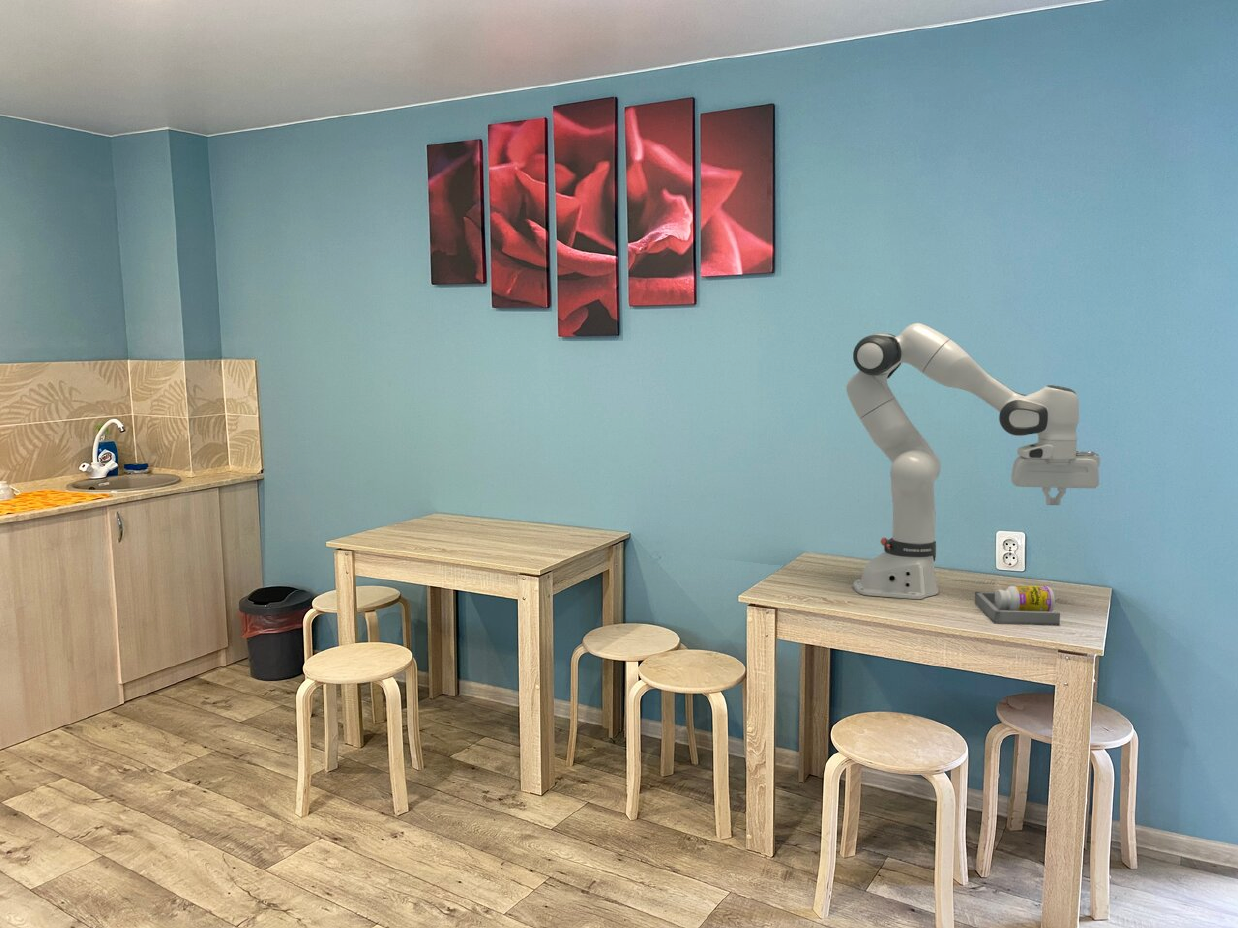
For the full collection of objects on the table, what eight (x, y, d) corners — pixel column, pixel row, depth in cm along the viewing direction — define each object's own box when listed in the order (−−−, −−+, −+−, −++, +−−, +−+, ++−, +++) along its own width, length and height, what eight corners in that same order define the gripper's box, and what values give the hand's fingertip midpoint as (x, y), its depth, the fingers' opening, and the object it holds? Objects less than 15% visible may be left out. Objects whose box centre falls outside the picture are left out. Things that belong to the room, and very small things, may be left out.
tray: (994, 623, 225) (995, 611, 225) (974, 602, 243) (975, 591, 242) (1059, 625, 223) (1060, 613, 223) (1034, 604, 241) (1035, 593, 241)
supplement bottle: (1058, 607, 228) (1005, 607, 228) (1047, 616, 233) (996, 616, 234) (1052, 581, 231) (1000, 582, 231) (1042, 591, 237) (991, 591, 237)
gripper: (1095, 450, 235) (1091, 503, 237) (1011, 448, 237) (1007, 501, 239) (1105, 453, 229) (1101, 508, 230) (1018, 451, 231) (1014, 505, 233)
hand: (1052, 504), depth 235 cm, fingers closed
